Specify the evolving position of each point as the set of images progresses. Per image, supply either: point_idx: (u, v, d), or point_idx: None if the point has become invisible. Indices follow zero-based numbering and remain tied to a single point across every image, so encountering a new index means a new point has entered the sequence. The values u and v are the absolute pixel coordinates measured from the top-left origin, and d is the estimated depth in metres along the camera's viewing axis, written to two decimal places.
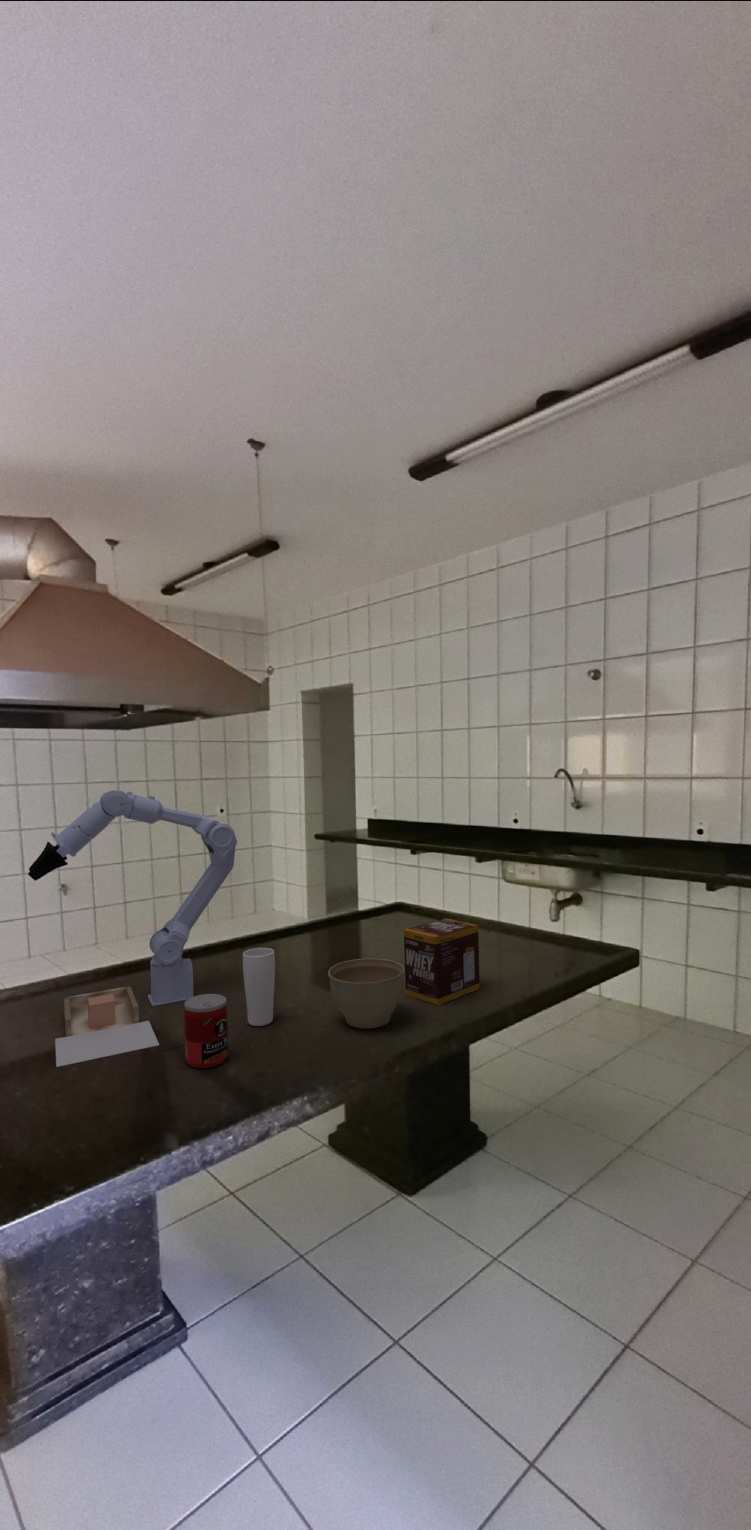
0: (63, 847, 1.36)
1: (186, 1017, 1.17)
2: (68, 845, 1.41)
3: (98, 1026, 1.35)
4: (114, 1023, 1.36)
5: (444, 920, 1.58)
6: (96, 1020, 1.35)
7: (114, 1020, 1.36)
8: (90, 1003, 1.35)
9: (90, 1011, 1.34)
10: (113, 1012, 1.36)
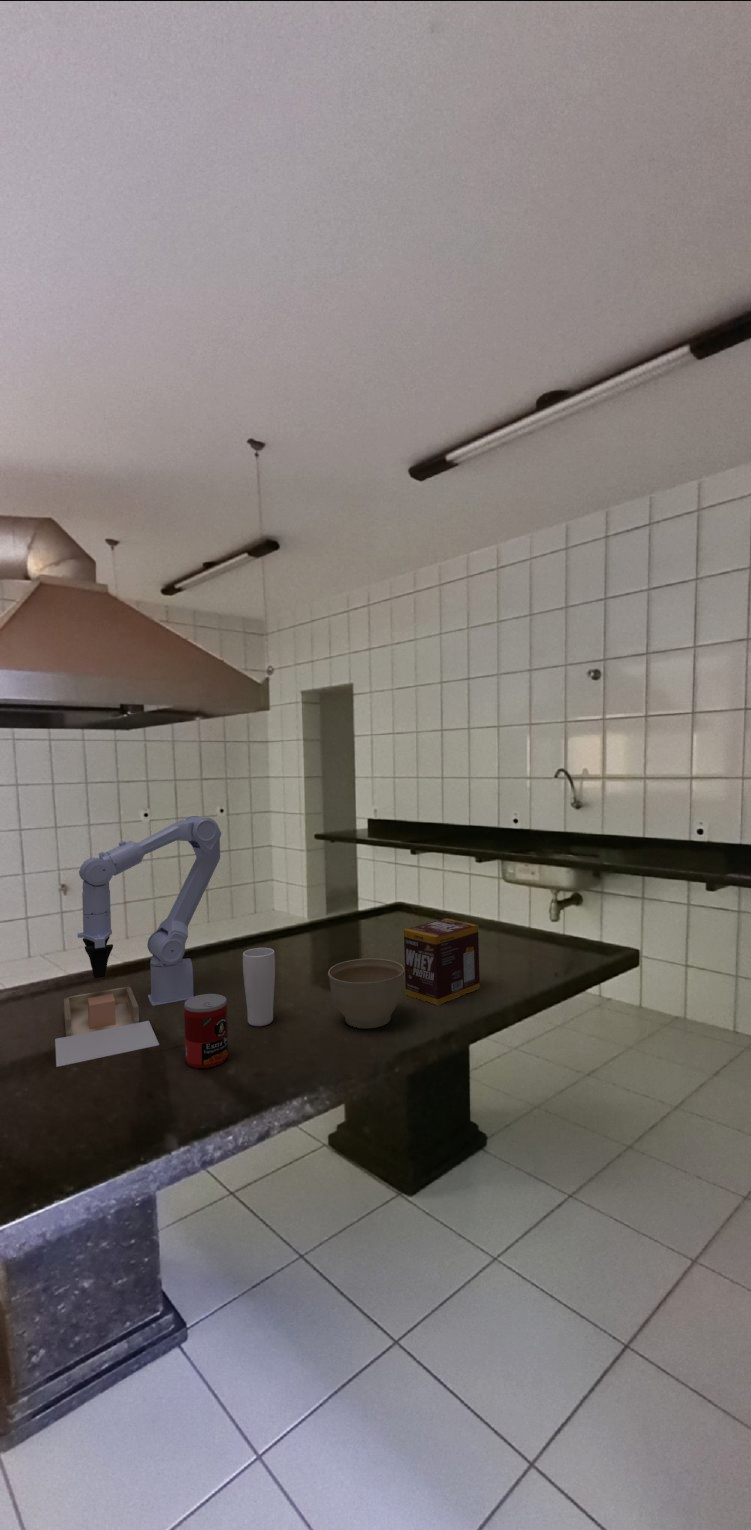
0: (96, 941, 1.37)
1: (186, 1017, 1.17)
2: (98, 932, 1.41)
3: (98, 1026, 1.35)
4: (114, 1023, 1.36)
5: (444, 920, 1.58)
6: (96, 1020, 1.35)
7: (114, 1020, 1.36)
8: (90, 1003, 1.35)
9: (90, 1011, 1.34)
10: (113, 1012, 1.36)
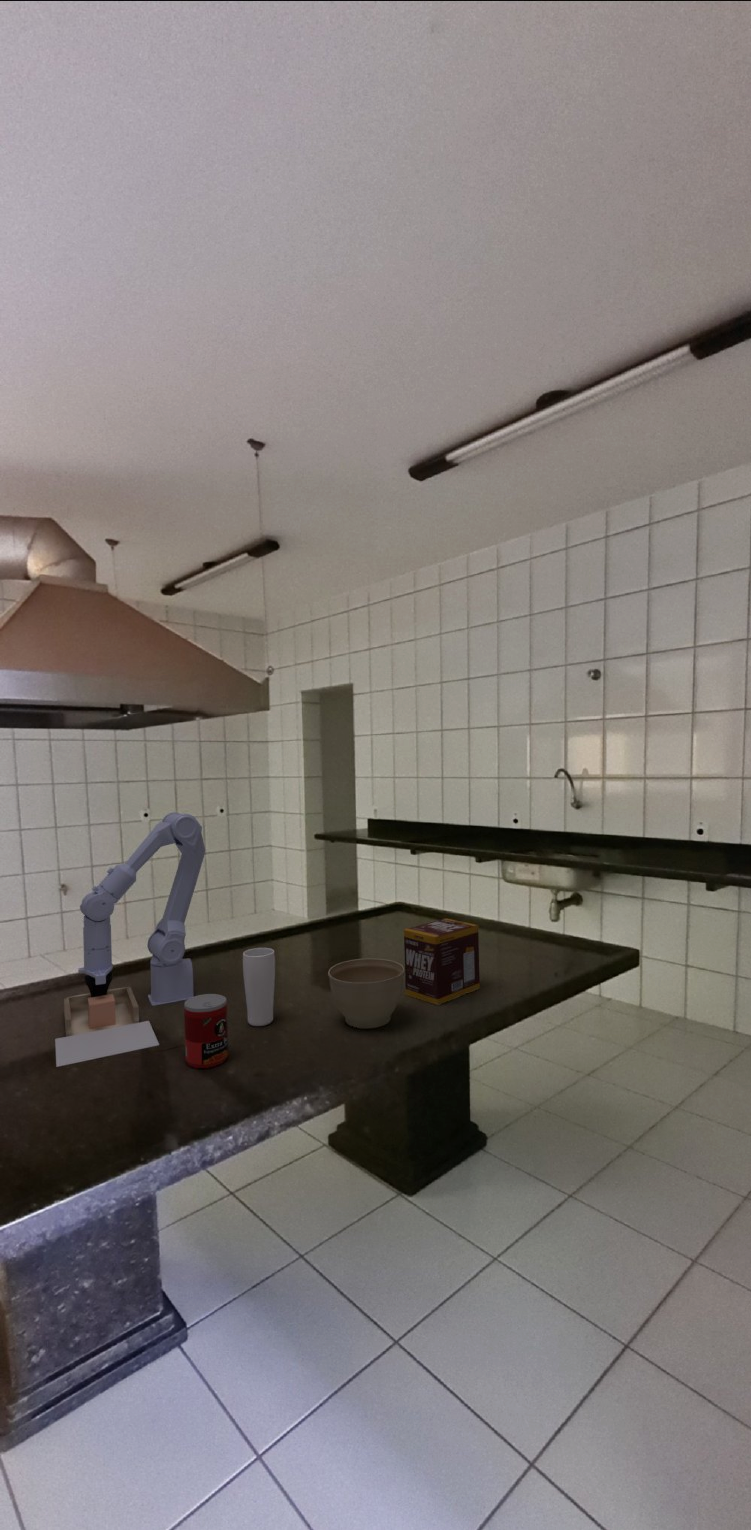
0: (97, 978, 1.37)
1: (186, 1017, 1.17)
2: (99, 968, 1.41)
3: (98, 1026, 1.35)
4: (114, 1023, 1.36)
5: (444, 920, 1.58)
6: (96, 1020, 1.35)
7: (114, 1020, 1.36)
8: (90, 1003, 1.35)
9: (90, 1011, 1.34)
10: (113, 1012, 1.36)
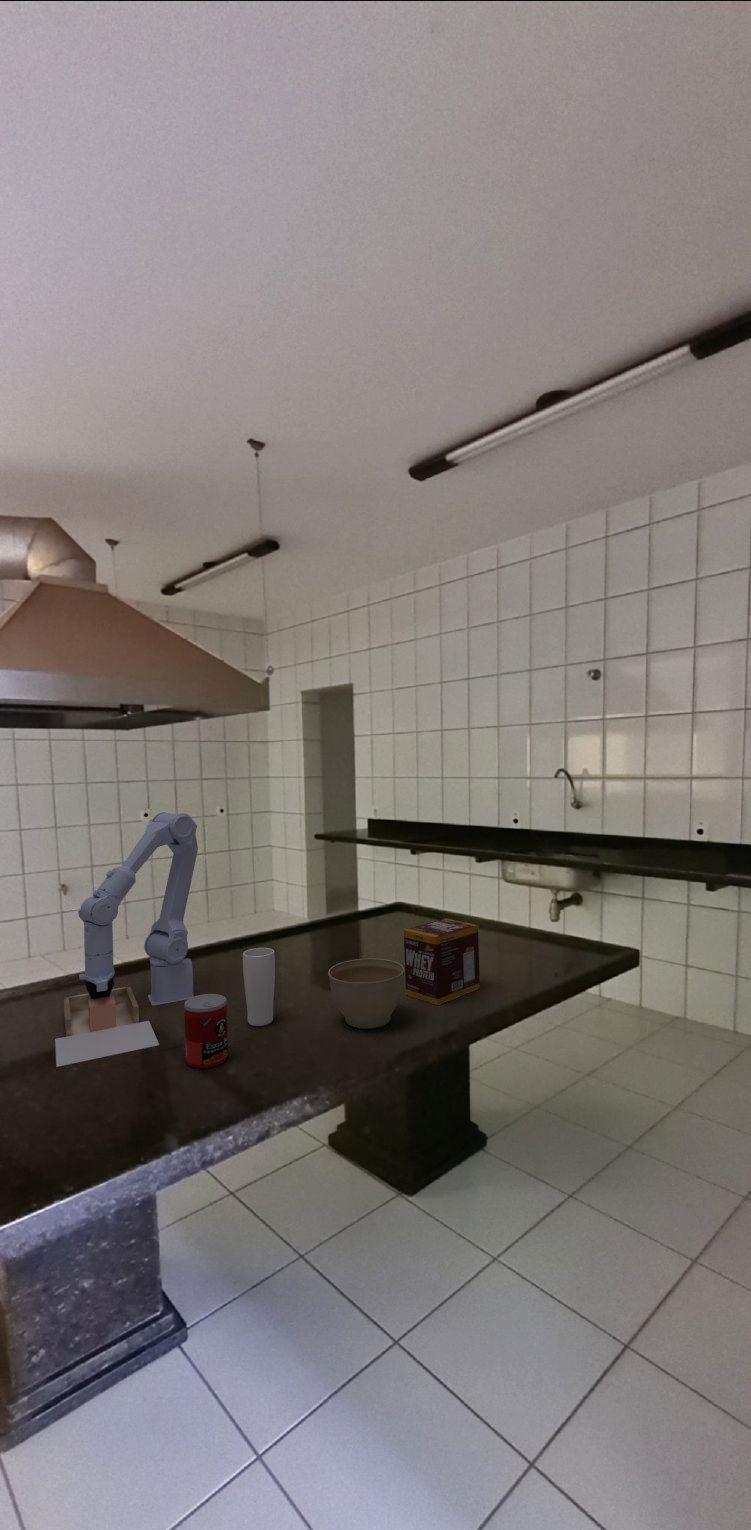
0: (98, 984, 1.33)
1: (186, 1017, 1.17)
2: (101, 974, 1.38)
3: (98, 1028, 1.33)
4: (115, 1025, 1.35)
5: (444, 920, 1.58)
6: (96, 1023, 1.33)
7: (115, 1022, 1.35)
8: (91, 1005, 1.34)
9: (91, 1013, 1.33)
10: (114, 1014, 1.35)
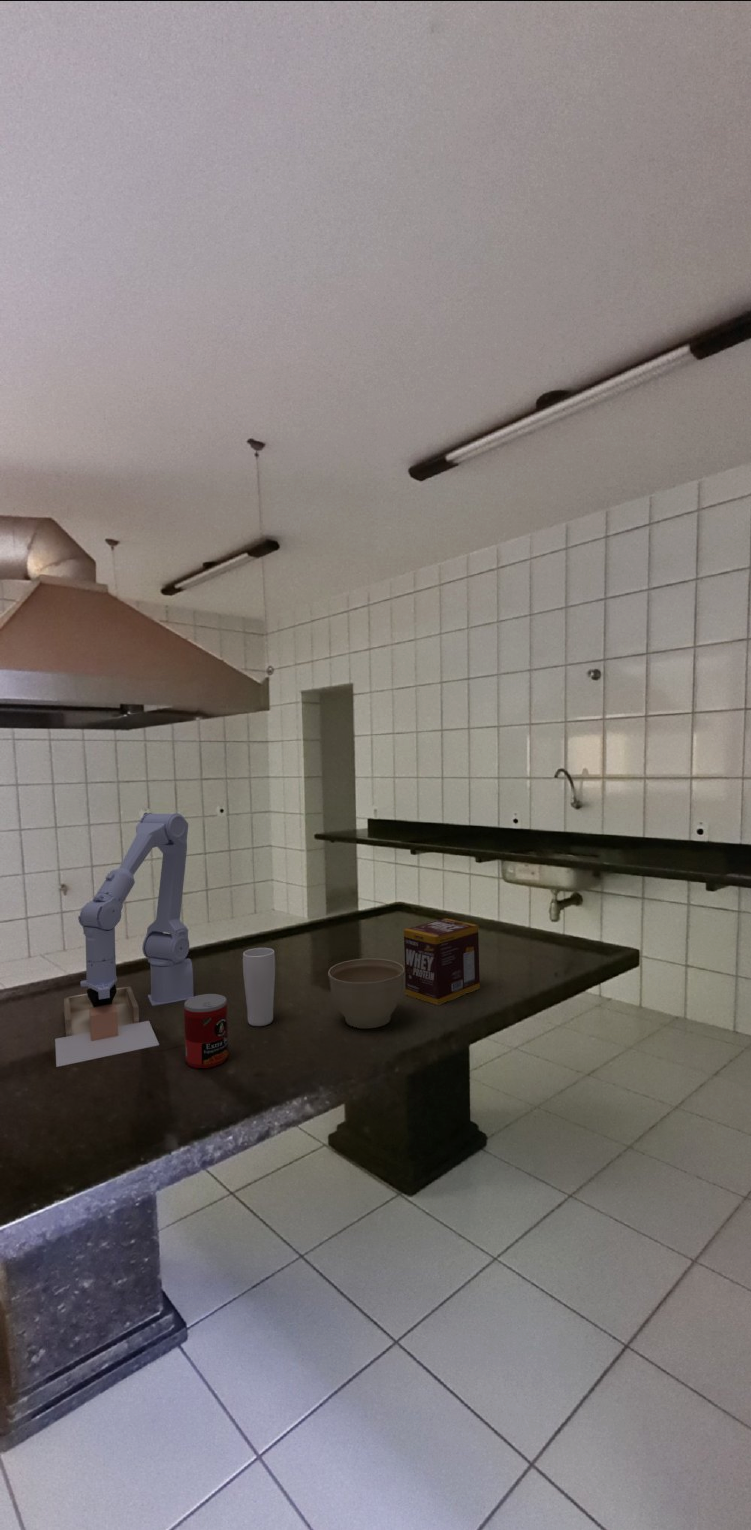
0: (100, 992, 1.29)
1: (186, 1017, 1.17)
2: (103, 981, 1.33)
3: (100, 1038, 1.29)
4: (116, 1034, 1.30)
5: (444, 920, 1.58)
6: (97, 1032, 1.29)
7: (116, 1031, 1.30)
8: (91, 1013, 1.29)
9: (91, 1022, 1.28)
10: (115, 1023, 1.30)
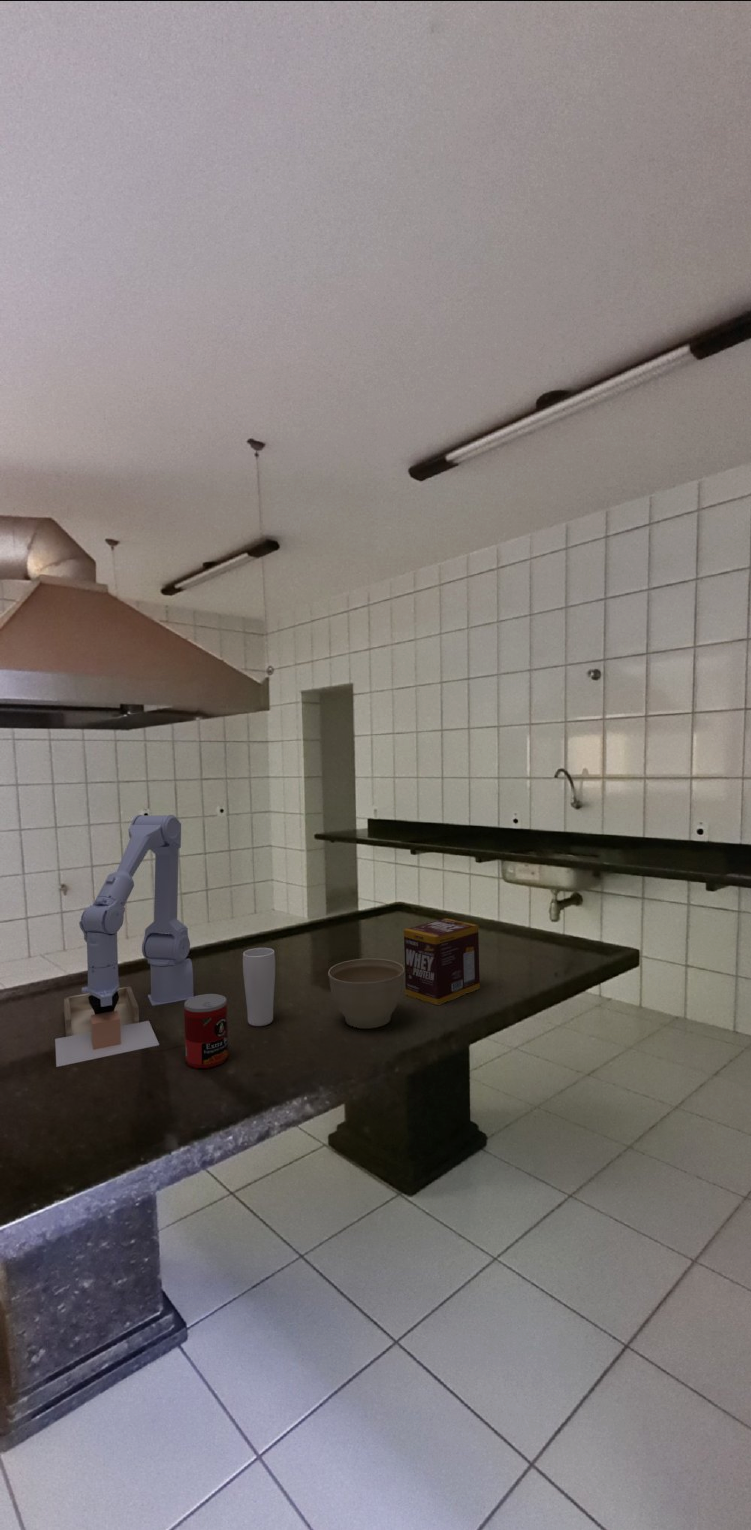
0: (102, 999, 1.25)
1: (186, 1017, 1.17)
2: (105, 987, 1.29)
3: (102, 1046, 1.25)
4: (119, 1043, 1.26)
5: (444, 920, 1.58)
6: (100, 1040, 1.25)
7: (119, 1039, 1.26)
8: (93, 1021, 1.25)
9: (93, 1030, 1.24)
10: (118, 1031, 1.26)
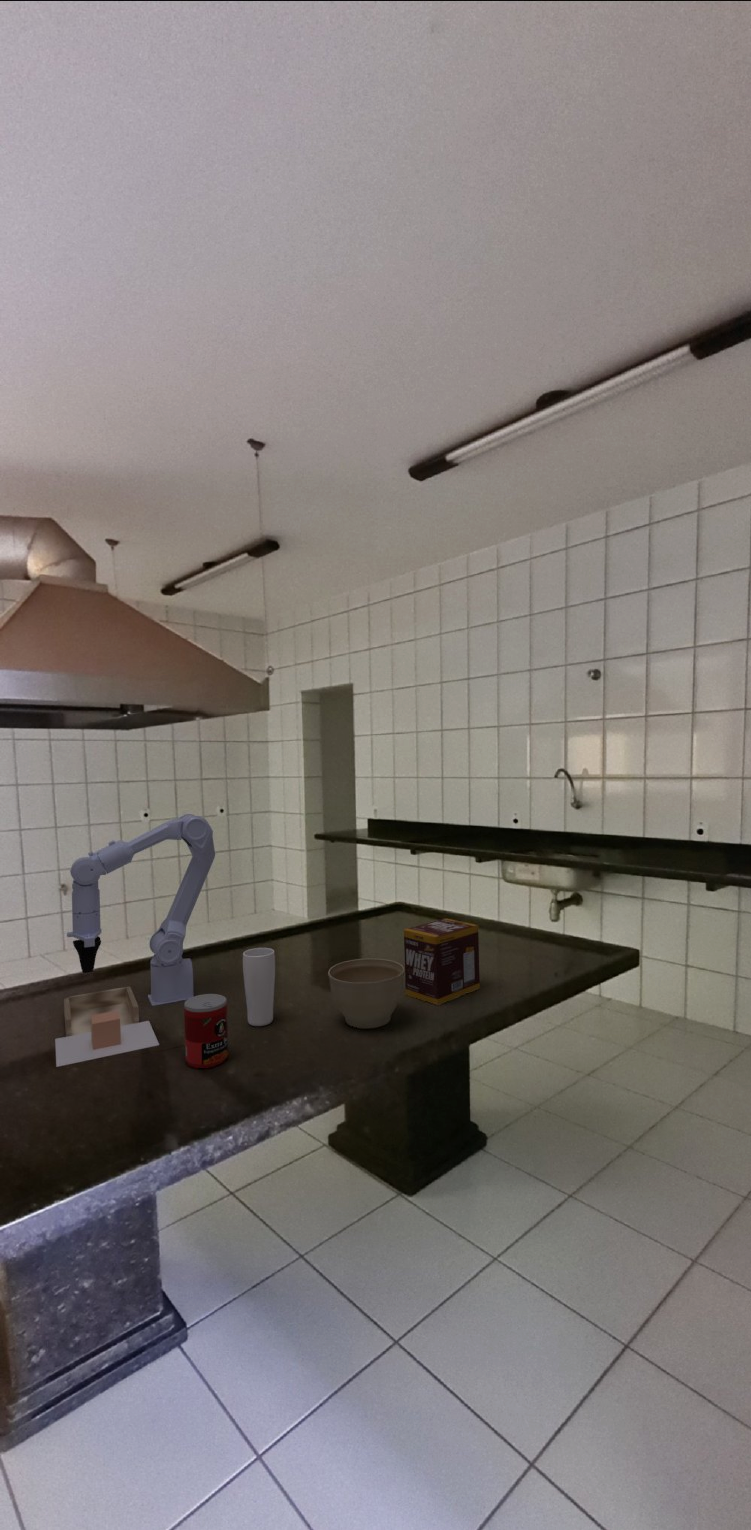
0: (86, 940, 1.38)
1: (186, 1017, 1.17)
2: (88, 932, 1.42)
3: (102, 1046, 1.25)
4: (119, 1043, 1.26)
5: (444, 920, 1.58)
6: (100, 1040, 1.25)
7: (119, 1039, 1.26)
8: (93, 1021, 1.25)
9: (93, 1030, 1.24)
10: (118, 1031, 1.26)
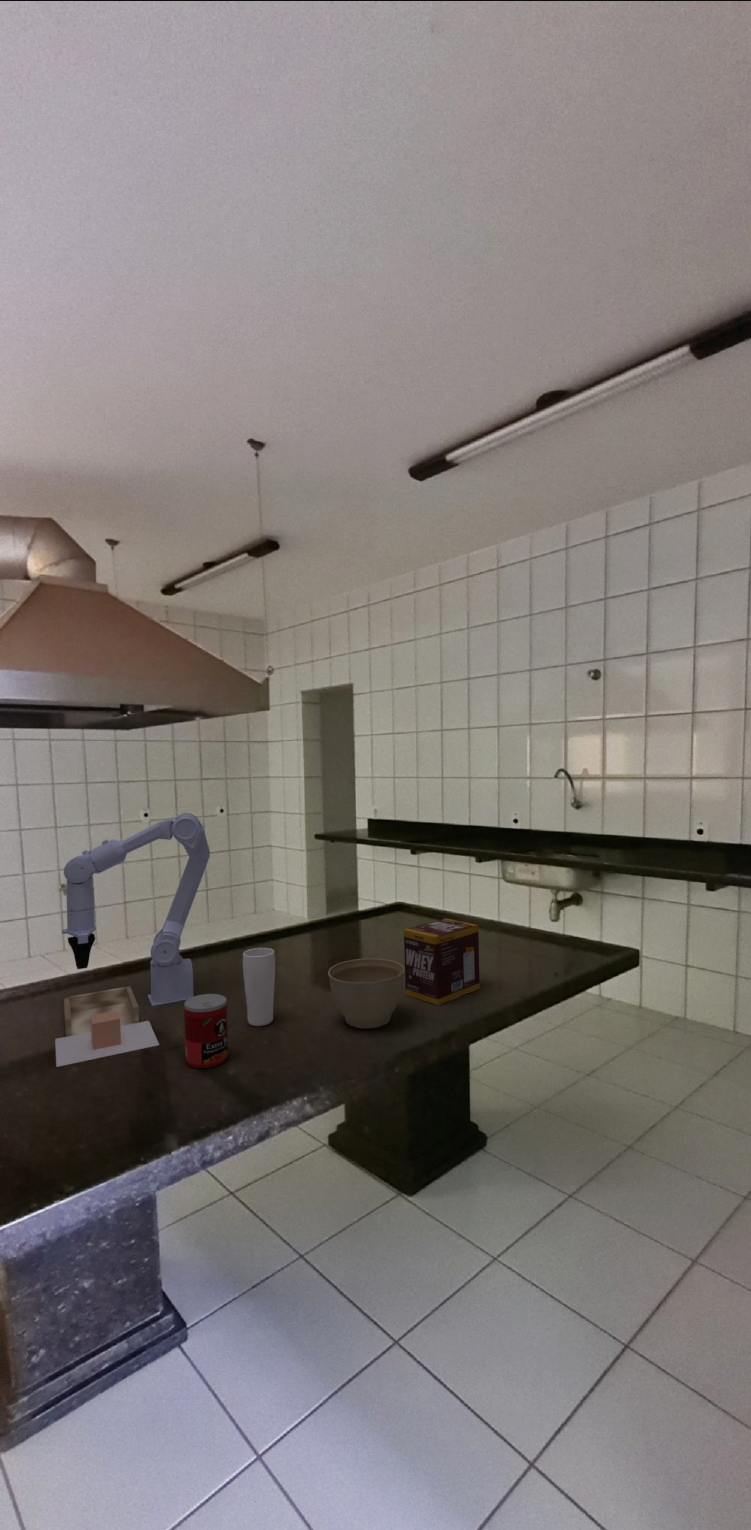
0: (79, 937, 1.41)
1: (186, 1017, 1.17)
2: (82, 929, 1.45)
3: (102, 1046, 1.25)
4: (119, 1043, 1.26)
5: (444, 920, 1.58)
6: (100, 1040, 1.25)
7: (119, 1039, 1.26)
8: (93, 1021, 1.25)
9: (93, 1030, 1.24)
10: (118, 1031, 1.26)
